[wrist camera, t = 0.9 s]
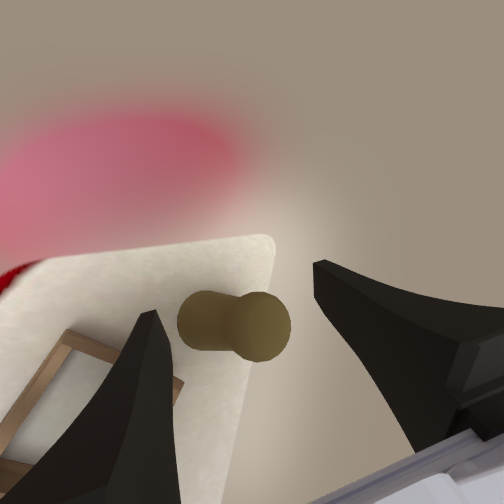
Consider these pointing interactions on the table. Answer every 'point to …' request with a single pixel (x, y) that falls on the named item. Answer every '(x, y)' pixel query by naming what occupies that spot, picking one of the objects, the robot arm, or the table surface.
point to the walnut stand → (9, 472)
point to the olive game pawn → (235, 324)
